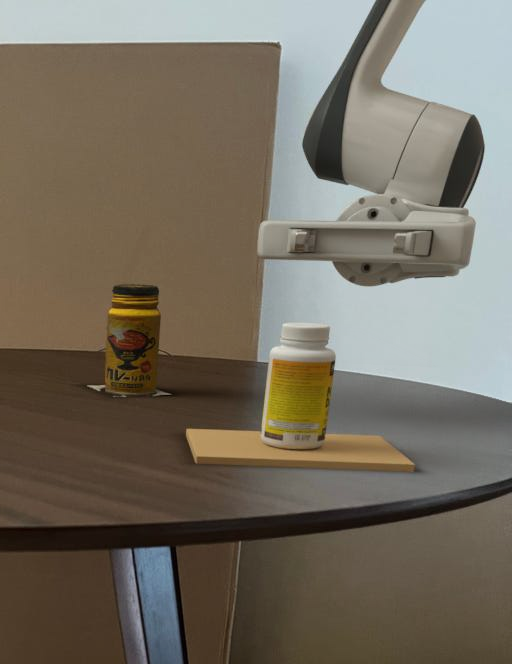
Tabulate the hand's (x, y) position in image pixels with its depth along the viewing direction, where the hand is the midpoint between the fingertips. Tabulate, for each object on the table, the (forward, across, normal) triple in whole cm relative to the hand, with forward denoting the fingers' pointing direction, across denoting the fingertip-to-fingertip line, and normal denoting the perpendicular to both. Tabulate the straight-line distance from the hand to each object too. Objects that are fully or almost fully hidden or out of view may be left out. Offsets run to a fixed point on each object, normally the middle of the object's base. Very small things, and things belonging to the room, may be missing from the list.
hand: (348, 242), depth 94 cm
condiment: (-12, -26, +17) cm, 33 cm away
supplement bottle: (+12, 0, +17) cm, 21 cm away
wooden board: (+12, 0, +17) cm, 21 cm away
